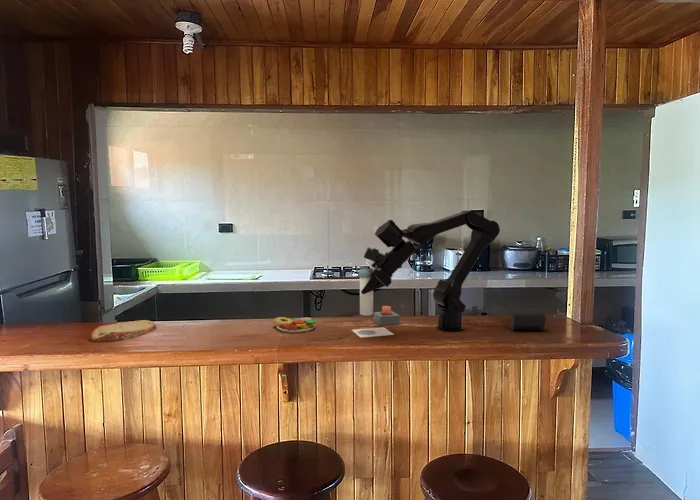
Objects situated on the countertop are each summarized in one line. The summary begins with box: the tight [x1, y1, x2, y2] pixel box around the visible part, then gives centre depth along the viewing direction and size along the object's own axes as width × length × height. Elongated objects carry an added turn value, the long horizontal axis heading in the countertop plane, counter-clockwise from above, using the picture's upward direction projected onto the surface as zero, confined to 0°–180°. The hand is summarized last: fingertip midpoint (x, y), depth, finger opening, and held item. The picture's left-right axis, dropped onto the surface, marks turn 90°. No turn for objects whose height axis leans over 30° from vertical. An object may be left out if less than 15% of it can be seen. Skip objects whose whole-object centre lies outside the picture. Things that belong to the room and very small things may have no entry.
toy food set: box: [273, 316, 317, 334], centre depth 163 cm, size 13×13×3 cm
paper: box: [351, 327, 395, 339], centre depth 157 cm, size 11×9×1 cm
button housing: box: [372, 310, 401, 326], centre depth 170 cm, size 7×7×3 cm
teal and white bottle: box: [358, 268, 374, 316], centre depth 156 cm, size 4×4×14 cm
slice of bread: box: [89, 319, 158, 344], centre depth 157 cm, size 18×18×4 cm
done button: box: [381, 305, 392, 316], centre depth 170 cm, size 3×3×4 cm
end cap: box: [508, 307, 547, 331], centre depth 161 cm, size 10×7×7 cm
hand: (362, 291), depth 156 cm, fingers closed on teal and white bottle, 4 cm apart
